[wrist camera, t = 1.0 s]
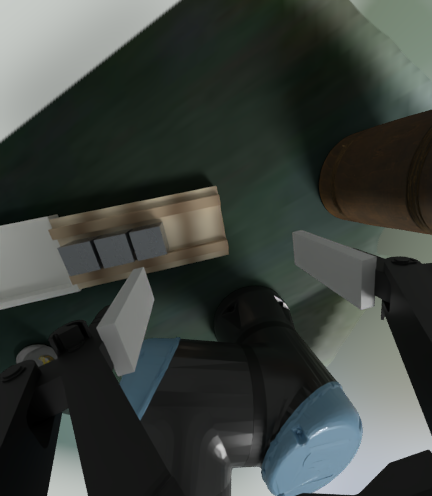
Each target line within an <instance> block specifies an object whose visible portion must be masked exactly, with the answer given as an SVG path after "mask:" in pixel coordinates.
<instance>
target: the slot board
mask: <svg viewBox="0 0 432 496" xmlns="http://www.w3.org/2000/svg"><path fill="white" fill-rule="evenodd" d="M220 205H221V203H220V198H219V195H218V192H217V187H216V186H212V187H207V188H202V189H197V190H192V191H187V192H183V193H178V194H173V195H168V196H163V197H158V198H153V199H148V200H143V201H138V202H133V203H128V204H123V205H118V206H113V207H108V208H103V209H99V210H94V211H89V212H84V213H79V214H74V215H69V216H64V217H59V218H55V219H50V220H49V222H50V224H51V227H52V229H49V230H48V231H49V233H50V236H51V238H52V240H58V242H59V245H60V247H61V246H63V245H65V244H67V243H69V242H71V241H74V240H79V239H83V238H88V237H93V236H97V235H104V234H107V233H112V232H116V231H121V230H126V229H130V228H133V229H134V228H136V227H140V226H144V225H149V224H154V223H159V222H163V225H164V229H165V233H166V236H167V240H168V244H169V250H168V254H167V255H162V256H158V257H154V258H149V259H145V260H140V261H138V259H136V260H135V262H132V263H127V264H123V265H118V266H114V267H110V268H105V269H104V267H103V268H102V269H101V270H96V271H92V272H87V273H83V274H79V275H74V276H69V278H70V280H71V283H72V285H75V284H77V286H78V288H79V289H83V288H87V287H91V286H95V285H100V284H104V283H108V282H113V281H117V280H121V279H126V278H128V277H129V275H130V274H131V272H132V271H133V269H137V268H141V267H144V269H145V272H146V274H147V273H151V272H156V271H160V270H164V269H169V268H173V267H177V266H181V265H186V264H190V263H194V262H199V261H203V260H207V259H211V258H216V257H220V256H224V255H229V252H228V249H229V247H228V242H227V239H226V236H225V230H224V225H223V219H222V214H221V209H220Z"/></svg>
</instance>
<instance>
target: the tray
mask: <svg viewBox="0 0 432 496" xmlns="http://www.w3.org/2000/svg"><path fill="white" fill-rule="evenodd" d="M55 218H59V217H58V214H57V215H52V216H47V217H42V218H37V219H32V220H27V221H22V222H17V223H12V224H7V225H2V226H0V310H1V309H5V308H10V307H14V306H18V305H23V304H27V303H31V302H35V301H40V300H44V299H48V298H53V297H57V296H61V295H65V294H70V293H74V292H78V291H81V290H82V289H79V288H78V286H77V284H75V285H72V283H71V280H70V278H69V274H68V272H67V269H66V267H65V265H64V263H63V260H62V258H61V256H60V254H59V251H58V249H57V248H59V247H60V245H59V242H58V240H52V238H51V236H50V233H49V231H48V230H49V229H52V227H51V224H50V222H49V220H50V219H55Z"/></svg>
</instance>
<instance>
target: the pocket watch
mask: <svg viewBox="0 0 432 496" xmlns="http://www.w3.org/2000/svg"><path fill="white" fill-rule="evenodd" d="M55 359H57V355H56V353H55V352H54V350H53V348H51V347H49V346H46V345H40V344H36V345H30V346H28V347H25V348H24V349H23V350H22V351H20V352H19V354H18V355H17V357H16V363H17V364H18V363H20V362H22V361H25V360H34V361H35V362H36V364H37V366H38V367H40V366H42V365H44V364H46V363H49V362H51V361H53V360H55Z"/></svg>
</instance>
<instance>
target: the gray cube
mask: <svg viewBox="0 0 432 496" xmlns="http://www.w3.org/2000/svg"><path fill="white" fill-rule="evenodd" d="M129 235H130V238H131V241H132V244H133V247H134V250H135V253H136V256H137V259H138V261H140V260H145V259H149V258H154V257H158V256H162V255H167V254H168V250H169V244H168V240H167V236H166V233H165V229H164V225H163V222H159V223H154V224H149V225H144V226H140V227H136V228H134V229H133V230H132V231H130V232H129Z"/></svg>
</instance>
